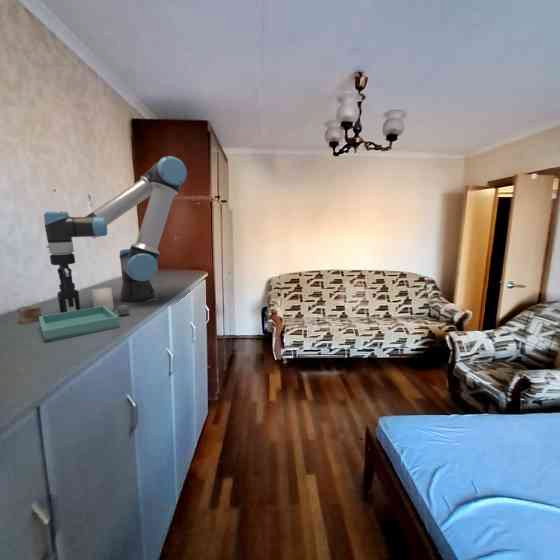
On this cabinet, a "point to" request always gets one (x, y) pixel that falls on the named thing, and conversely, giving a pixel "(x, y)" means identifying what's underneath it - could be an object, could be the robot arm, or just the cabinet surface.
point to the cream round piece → (103, 297)
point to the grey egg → (123, 309)
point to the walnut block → (29, 314)
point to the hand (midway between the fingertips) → (70, 312)
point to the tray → (77, 323)
